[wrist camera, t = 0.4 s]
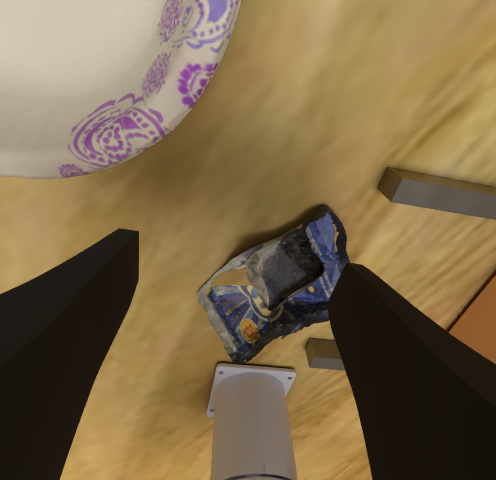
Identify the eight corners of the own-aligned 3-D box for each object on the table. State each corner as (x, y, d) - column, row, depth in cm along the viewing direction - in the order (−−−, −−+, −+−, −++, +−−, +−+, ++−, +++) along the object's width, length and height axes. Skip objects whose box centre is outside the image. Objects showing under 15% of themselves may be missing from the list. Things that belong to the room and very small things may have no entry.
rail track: (471, 364, 30) (485, 382, 29) (305, 348, 28) (309, 367, 26) (619, 210, 21) (653, 224, 19) (387, 167, 18) (402, 178, 17)
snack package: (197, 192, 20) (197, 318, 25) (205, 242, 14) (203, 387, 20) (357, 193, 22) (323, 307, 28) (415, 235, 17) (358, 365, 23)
